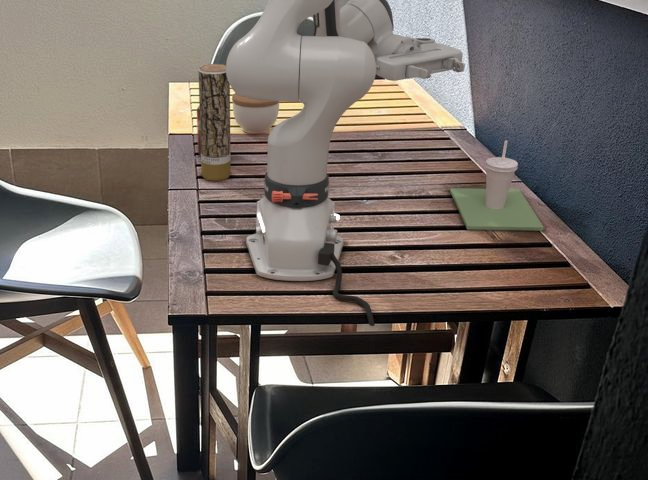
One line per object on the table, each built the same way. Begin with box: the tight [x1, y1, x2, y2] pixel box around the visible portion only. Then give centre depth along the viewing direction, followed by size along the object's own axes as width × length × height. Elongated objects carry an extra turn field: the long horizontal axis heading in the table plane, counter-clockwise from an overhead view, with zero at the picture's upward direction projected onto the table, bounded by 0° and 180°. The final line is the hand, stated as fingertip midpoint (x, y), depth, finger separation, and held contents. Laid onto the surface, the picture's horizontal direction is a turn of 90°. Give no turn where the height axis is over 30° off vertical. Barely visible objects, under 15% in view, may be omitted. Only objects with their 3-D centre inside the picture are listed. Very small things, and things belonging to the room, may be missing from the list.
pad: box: [449, 187, 545, 232], centre depth 170 cm, size 20×15×1 cm
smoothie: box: [484, 139, 519, 210], centre depth 166 cm, size 6×6×14 cm
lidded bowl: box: [231, 92, 280, 135], centre depth 215 cm, size 13×13×11 cm
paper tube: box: [198, 63, 232, 182], centre depth 182 cm, size 7×7×25 cm
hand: (445, 71), depth 167 cm, fingers open, 8 cm apart
